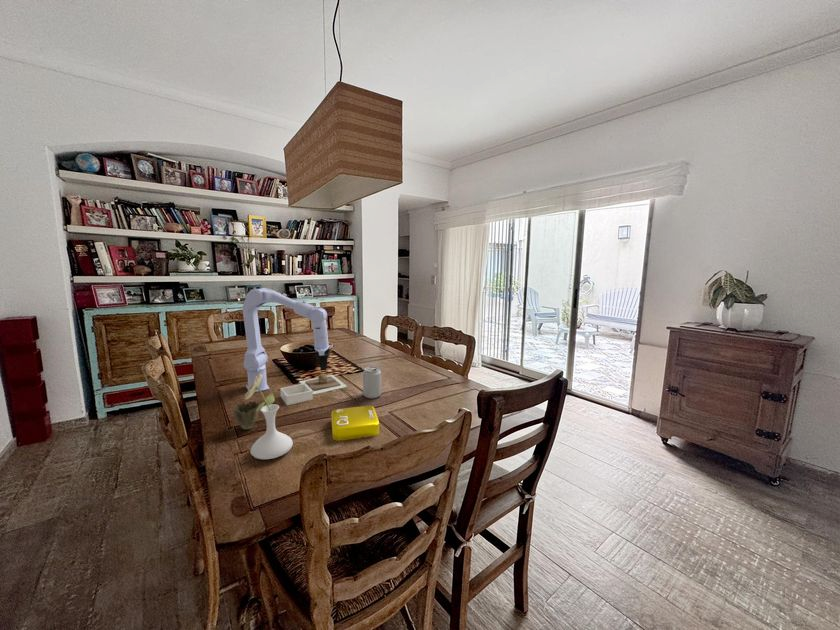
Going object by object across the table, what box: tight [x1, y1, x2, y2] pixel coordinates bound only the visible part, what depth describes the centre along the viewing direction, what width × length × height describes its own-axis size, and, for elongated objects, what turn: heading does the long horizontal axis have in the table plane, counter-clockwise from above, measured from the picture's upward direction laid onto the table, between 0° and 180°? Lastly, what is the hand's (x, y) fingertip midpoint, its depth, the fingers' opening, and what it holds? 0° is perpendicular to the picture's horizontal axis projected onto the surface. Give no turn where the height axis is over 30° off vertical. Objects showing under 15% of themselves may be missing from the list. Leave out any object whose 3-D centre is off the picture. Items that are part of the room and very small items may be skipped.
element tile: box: [330, 405, 380, 442], centre depth 111 cm, size 15×15×5 cm
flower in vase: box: [244, 374, 294, 460], centre depth 93 cm, size 13×11×25 cm
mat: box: [299, 374, 348, 395], centre depth 148 cm, size 18×16×1 cm
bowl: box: [279, 383, 314, 406], centre depth 132 cm, size 10×10×4 cm
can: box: [362, 366, 382, 399], centre depth 136 cm, size 8×8×12 cm
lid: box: [305, 373, 341, 391], centre depth 147 cm, size 12×12×4 cm
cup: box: [232, 400, 260, 431], centre depth 108 cm, size 8×7×8 cm
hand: (324, 367), depth 141 cm, fingers open, 7 cm apart
